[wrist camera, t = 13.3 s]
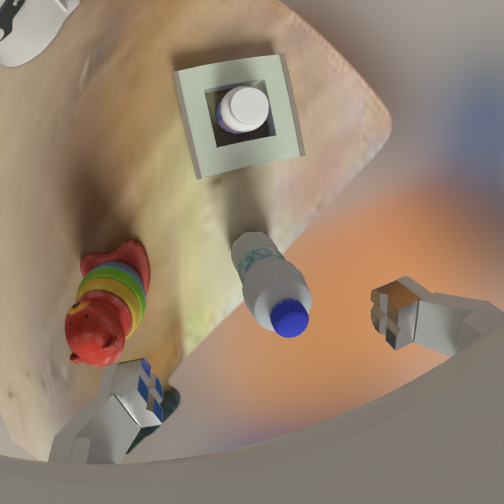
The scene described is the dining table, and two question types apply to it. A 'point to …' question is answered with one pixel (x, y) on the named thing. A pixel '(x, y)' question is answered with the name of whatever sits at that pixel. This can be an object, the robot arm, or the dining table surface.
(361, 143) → the dining table surface
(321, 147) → the dining table surface
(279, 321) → the bottle
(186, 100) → the holed board
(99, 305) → the stacking bear
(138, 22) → the dining table surface
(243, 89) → the pill bottle
